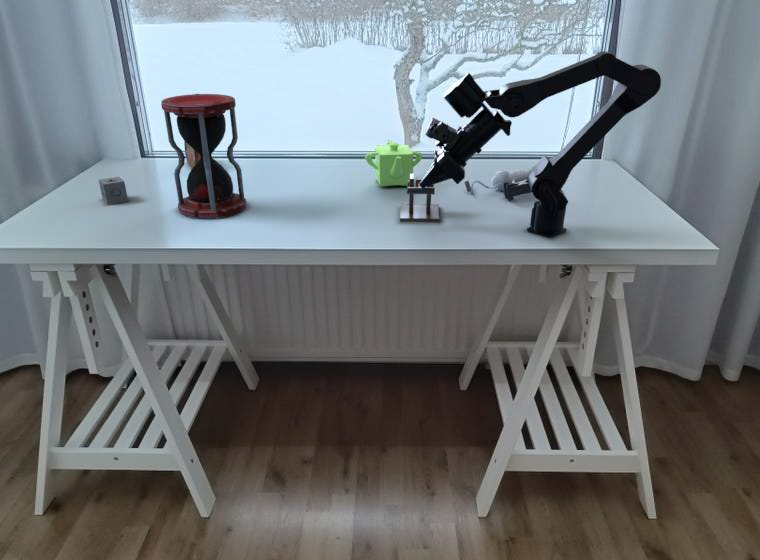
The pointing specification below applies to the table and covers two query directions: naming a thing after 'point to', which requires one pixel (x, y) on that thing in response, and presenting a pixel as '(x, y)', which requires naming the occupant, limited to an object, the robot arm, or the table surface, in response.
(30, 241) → the table surface
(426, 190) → the tap lever
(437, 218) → the stand
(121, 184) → the dice cube
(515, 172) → the clip-on lamp
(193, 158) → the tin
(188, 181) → the hourglass
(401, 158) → the teapot
